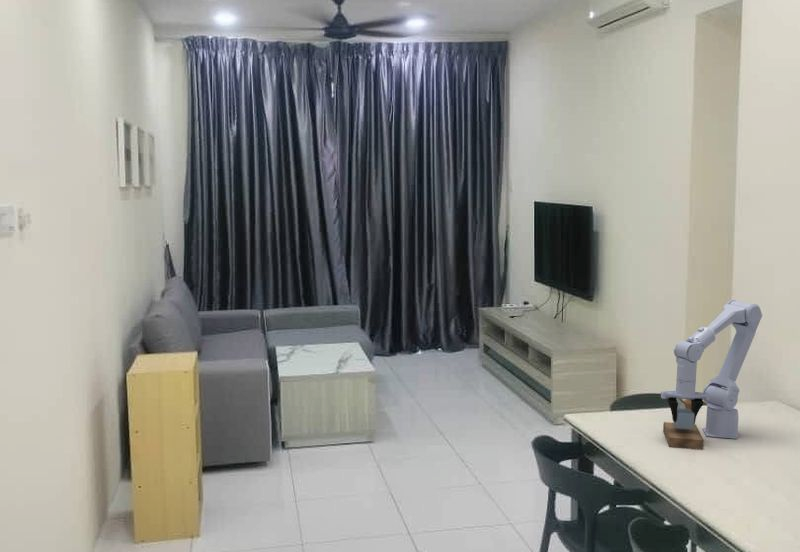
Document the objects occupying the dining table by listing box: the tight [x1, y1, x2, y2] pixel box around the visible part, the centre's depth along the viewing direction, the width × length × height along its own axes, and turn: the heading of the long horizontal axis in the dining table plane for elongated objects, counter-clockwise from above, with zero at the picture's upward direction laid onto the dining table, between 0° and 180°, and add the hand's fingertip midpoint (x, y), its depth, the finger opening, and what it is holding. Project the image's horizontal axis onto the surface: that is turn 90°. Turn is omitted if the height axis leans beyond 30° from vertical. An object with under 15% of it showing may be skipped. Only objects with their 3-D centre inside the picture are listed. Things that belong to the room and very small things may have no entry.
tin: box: [676, 399, 697, 424], centre depth 275 cm, size 15×3×8 cm, turn 179°
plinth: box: [662, 421, 704, 450], centre depth 256 cm, size 10×16×3 cm, turn 168°
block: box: [672, 409, 694, 429], centre depth 256 cm, size 5×5×5 cm
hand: (683, 421), depth 256 cm, fingers closed on block, 5 cm apart
